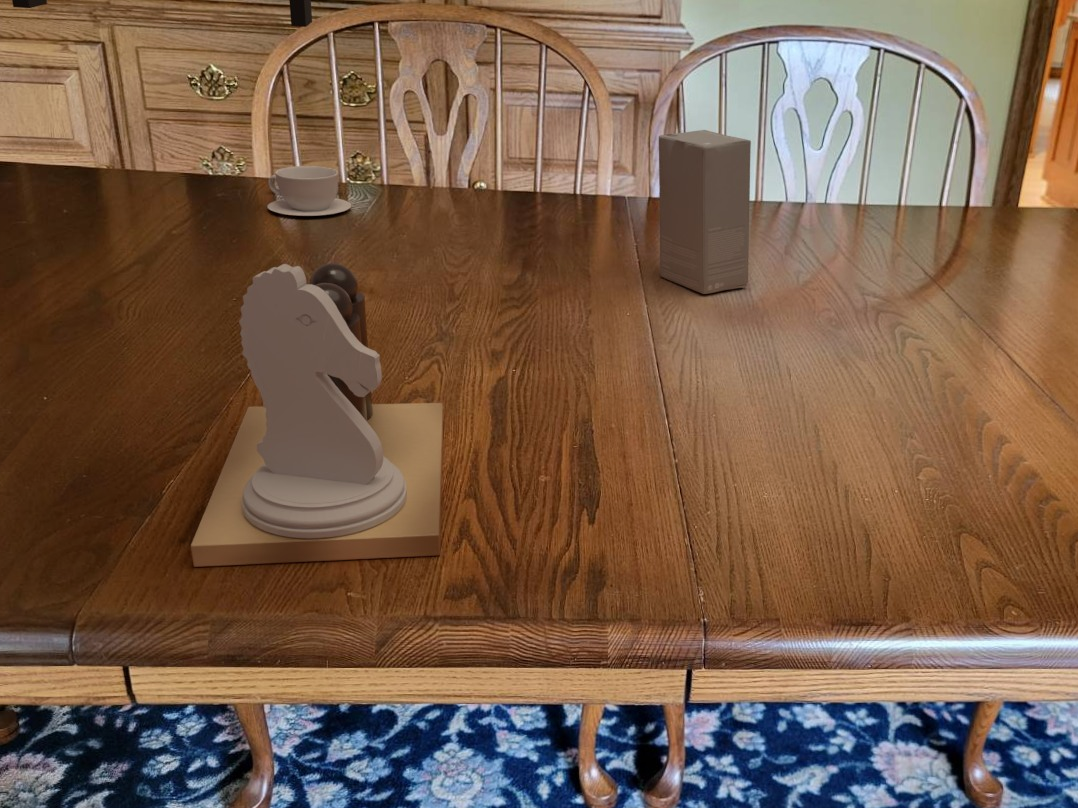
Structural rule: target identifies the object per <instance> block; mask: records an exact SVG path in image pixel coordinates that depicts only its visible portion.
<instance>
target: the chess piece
mask: <svg viewBox="0 0 1078 808" xmlns="http://www.w3.org/2000/svg"><path fill="white" fill-rule="evenodd" d="M246 290H247V292H246V293H245V294H244V295H242V301H243V305H242V306H240V313H241V317H240V318H239V321H238V323H239V326H240V328H241V330H240V332H239V334H240V337H241V342H240V345H241V346H242V353H241V354H242V356H243V357H244V358H245V359H246V361H247V363H246V367H247V368H248V369H249V370H250V375H251V378H252V380H253V382H254V385H255V387H256V388H257V390H258V391H259V395H260V396H261V400H262V404H263V406H264V407H265V408H266V414H265V416H266V418H267V421H266V426H267V431H266V435H265V436H264V437H263V440H262V441H260V442H259V443H258V444H257V451H258V453H259V454H260V455H261V456H262V457H263V459H264V462H265V464H264V465H262V466H261V467H260V468H259V469H258V470H257V471H256V472H255V474H254V475H253V476H252V477H251V478H250V479H249V481H248V482H247V484H246V485H245V487H244V490H243V496H242V509H243V513H244V515H245V517H246V518H247V520H248V521H249V522H250V523H251V524H253V525H254V526H256V527H257V528H259V529H261V530H263V531H266V532H269V533H272V534H275V535H279V536H285V537H291V538H305V539H316V538H330V537H337V536H343V535H348V534H352V533H357V532H360V531H363V530H366V529H369V528H372V527H374V526H376V525H379V524H380V523H382V522H384V521H386V520H388V519H389V518H391V517H392V516H393V515H395V514H396V513H397V512H398V511H399V510H400V509H401V508H402V506H403V505H404V503H405V501H406V498H407V486H406V482H405V480H404V477H403V475H402V473H401V471H400V470H399V469H398V468H397V467H396V466H395V465H394V464H392V463H391V462H390V461H389V460H388V459H387V458H385V457H384V456H383V448H382V444H381V442H380V440H379V438H378V436H377V434H376V433H375V431H374V430H373V429H372V428H371V426H370V425H369V424H368V423H367V421H366V420H365V419H364V418H363V416H362V415H361V414H360V413H359V412H358V410H357V409H356V408H355V407H354V406H353V405H352V403H351V402H350V401H349V400H348V399H347V398H346V397H345V396H344V395H343V394H342V392H341V391H340V390H339V389H338V387H337V386H336V385H335V384H334V382H333V381H332V380H331V379H330V377H329V376H328V375H331V376H333V377H337V378H340V379H341V380H343V381H344V382H345V384H346V385H347V386H348V388H349V389H350V390H351V391H352V392H353V393H354V395H356V396H358V397H364V396H366V395H367V394H368V393H369V392H370V391H371V392H374V391H375V390H377V389H378V388H379V386H380V385H381V383H382V381H383V374H382V373H383V372H382V366H381V362H380V360H381V355H380V354H379V353H378V352H377V351H376V350H374V349H372V348H369V347H368V348H367V347H365V346H364V345H362V344H361V343H360V342H359V341H358V340H357V338H356V337H355V336H354V335H353V333H352V332H351V331H350V329H349V327H348V326H347V324H346V322H345V320H344V319H343V317H342V315H341V314H340V312H339V311H338V309H337V307H336V305H335V303H334V302H333V301H332V299H331V298H330V297H329V295H328V294H327V293H326V292H325V291H324V290H322V289H321V288H320V287H318V286H315V285H312V284H309V283H307V277H306V275H305V272H304V270H303V268H301V266H300V265H295V266H291V265H289V264H287V263H282V264H281V265H279V266H273V267H271V268H269V269H268V270H266V271H265V270H264V271H261V272H260V273H258V274H256V275H254V276H253V277H252V284H251V285H249V286H247V288H246ZM327 374H328V375H327Z"/></svg>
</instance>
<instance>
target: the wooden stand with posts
mask: <svg viewBox="0 0 1078 808" xmlns="http://www.w3.org/2000/svg"><path fill="white" fill-rule="evenodd" d="M308 284H312V285H315V286H318V287H320V288H321V289H322V290H324V291H325V292H326V293H327V294H328V295H329V297H330V298H331V299H332V301H333V302H334V303H335V305H336V307H337V309H338V311H339V312H340V314H341V315H342V317H343V319H344V320H345V322H346V324H347V326H348V327H349V329H350V331H351V332H352V333H353V335H354V336H355V337H356V338H357V340H358V341H359V342H360V343H361V344H362V345H364V346H365V347H367V348H369V339H368V325H367V312H366V299H365V297H366V296H365V295H364V294H363V293H362V292H360V291H359V290H358V289H359V283H358V280H357V277H356V275H355V274H354V273H353V271H351V269H350V268H349V267H347V266H345V265H344V264H341V263H338V262H337V263H336V262H328V263H324V264H322V265H319V267H317V268H316V269H315V270H314V271H313V273H312V274H311V276H310V279H309V283H308ZM327 375H328V374H327ZM328 376H329V377H330V379H331V380H332V381H333V382H334V384H335V385H336V386H337V387H338V389H339V390H340V391H341V392H342V394H343V395H344V396H345V397H346V398H347V399H348V400H349V401H350V402H351V403H352V405H353V406H354V407H355V408H356V409H357V410H358V412H359V413H360V414H361V415H362V416H363V418H364V419H365V420H366V421H367V423H368V424H369V425H370V426H371V428H372V429H373V430H374V431H375V433H376V434H377V436H378V438H379V440H380V442H381V444H382V448H383V456H384V457H385V458H387V459H388V460H389V461H390V462H391V463H392V464H394V465H395V466H396V467H397V468H398V469H399V470H400V471H401V473H402V475H403V477H404V480H405V482H406V486H407V498H406V501H405V503H404V505H403V506H402V508H401V509H400V510H399V511H398V512H397V513H396V514H395V515H393V516H392V517H391V518H389V519H388V520H386V521H384V522H382V523H380V524H379V525H376V526H374V527H372V528H369V529H366V530H363V531H360V532H357V533H352V534H348V535H343V536H337V537H330V538H316V539H305V538H291V537H285V536H279V535H275V534H272V533H269V532H266V531H263V530H261V529H259V528H257V527H256V526H254V525H253V524H251V523H250V522H249V521H248V520H247V518H246V517H245V515H244V513H243V509H242V496H243V490H244V487H245V485H246V484H247V482H248V481H249V479H250V478H251V477H252V476H253V475H254V474H255V472H256V471H257V470H258V469H259V468H260V467H261V466H262V465H264V464H265V462H264V459H263V457H262V456H261V455H260V454H259V453H258V451H257V444H258V443H259V442H260V441H262V440H263V437H264V436H265V435H266V431H267V426H266V421H267V418H266V416H265V414H266V408H265V407H264V405H263V406H260V405H259V406H257V405H256V406H247V408H246V411H245V413H244V415H243V418H242V420H241V423H240V425H239V427H238V430H237V433H236V434H235V437H234V440H233V443H232V445H231V447H230V450H229V452H228V454H227V456H226V459H225V462H224V464H223V466H222V468H221V472H220V474H219V476H218V479H217V481H216V484H215V486H214V488H213V490H212V493H211V495H210V498H209V500H208V503H207V505H206V507H205V510H204V512H203V514H202V517H201V520H200V521H199V525H198V527H197V529H196V531H195V534H194V536H193V538H192V541H191V543H190V553H191V558H192V562H193V563H192V564H193V567H194V568H198V567H199V568H200V567H222V566H223V567H224V566H243V565H244V566H246V565H264V564H266V565H267V564H286V563H287V564H288V563H289V564H290V563H306V562H307V563H308V562H330V561H350V560H351V561H352V560H371V559H390V558H391V559H392V558H395V559H396V558H415V557H434V556H435V557H436V556H437V557H438V556H440V555H441V531H442V498H443V497H442V496H443V495H442V493H443V458H444V457H443V456H444V455H443V453H444V404H443V402H415V403H411V402H409V403H373V396H372V395H373V394H372V391H370V392H369V393H368V394H367V395H366V396H364V397H358V396H356V395H354V393H353V392H352V391H351V390H350V389H349V388H348V386H347V385H346V384H345V382H344V381H343V380H341V379H340V378H337V377H333V376H331V375H328Z"/></svg>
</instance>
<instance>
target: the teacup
mask: <svg viewBox="0 0 1078 808" xmlns="http://www.w3.org/2000/svg"><path fill="white" fill-rule="evenodd" d="M274 180H275V181H276V184H277V187H276V185H275V183H274ZM267 184H268V188H269V189H270V191H271V192H272V193H274V194H275V195H277V196H280V197H282V198H281V199H277V200H274V201H271V202H269V203H268V204H267V209H268V210H270V211H272V212H274V213H277V214H281V215H288V216H299V217H315V216H316V217H317V216H327V215H328V216H329V215H335V214H338V213H342V212H345V211H348V210H350V209H351V208H352V203H351V202H349V201H347V200H345V199H341V198H337V194H338V189H339V170H337V169H335V168H332V167H327V166H320V165H295V166H287V167H282V168H279V169H277V170H276V171H275V172H274V174H272V175H271V176H270V177H269V178H268V181H267Z"/></svg>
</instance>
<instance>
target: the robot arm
mask: <svg viewBox="0 0 1078 808" xmlns="http://www.w3.org/2000/svg"><path fill="white" fill-rule="evenodd" d="M11 2H12V7H13V8H20V9H32V8H37V7H40V6H45V5H47V4H48V1H47V0H11ZM312 11H313V10H312V0H289V12H290V13H289V14H290V26H291V27H299V28H300V27H302V28H306V27H307V26H309V25H311V24H312V23H313V15H312Z"/></svg>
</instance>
